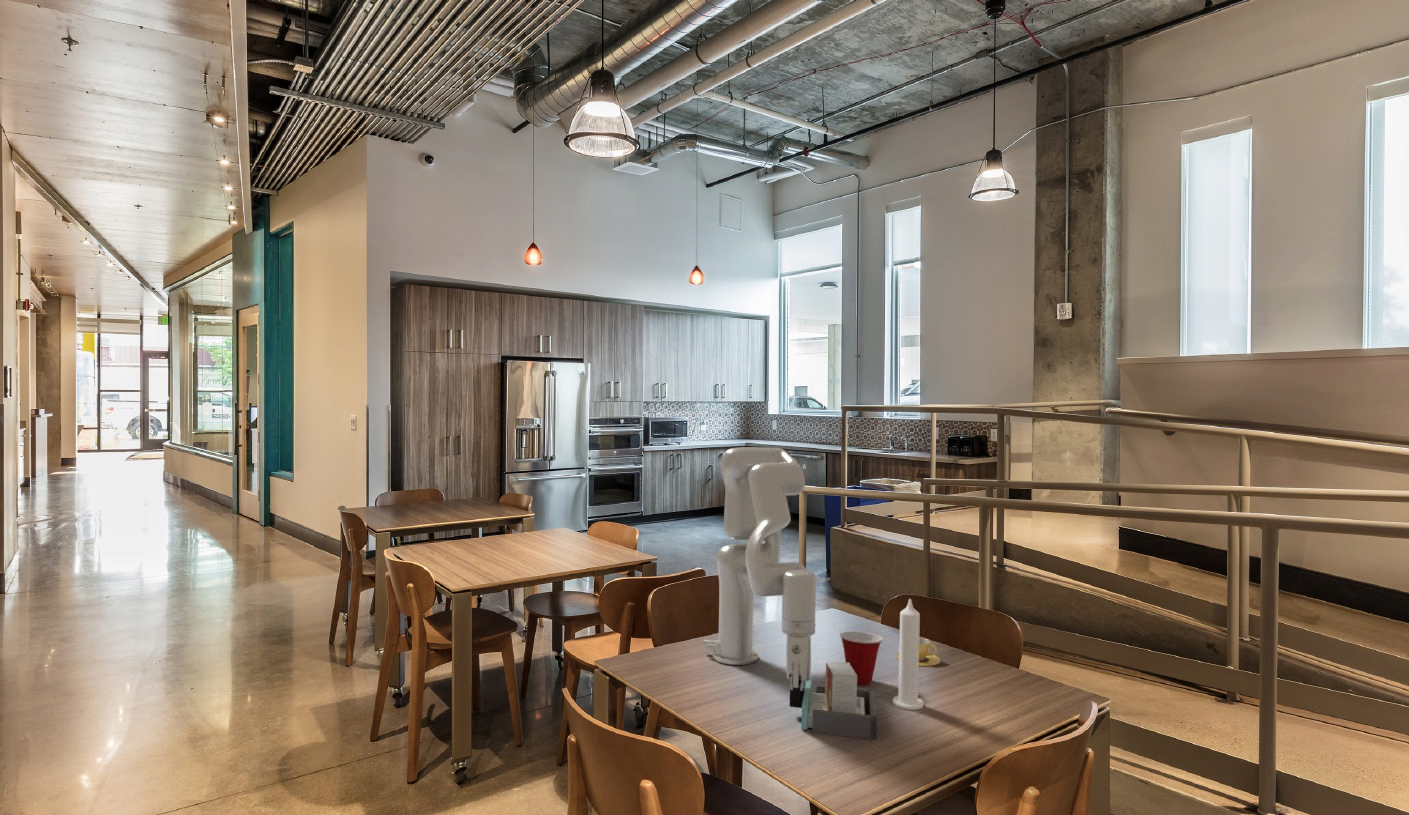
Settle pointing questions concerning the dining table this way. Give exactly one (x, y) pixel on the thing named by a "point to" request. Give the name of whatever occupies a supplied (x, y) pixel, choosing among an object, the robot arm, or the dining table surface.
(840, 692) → the small box
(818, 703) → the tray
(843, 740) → the dining table surface
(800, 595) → the robot arm
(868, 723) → the bay
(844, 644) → the plastic cup
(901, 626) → the candle
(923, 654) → the cup
